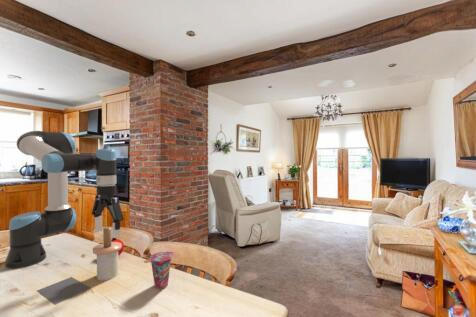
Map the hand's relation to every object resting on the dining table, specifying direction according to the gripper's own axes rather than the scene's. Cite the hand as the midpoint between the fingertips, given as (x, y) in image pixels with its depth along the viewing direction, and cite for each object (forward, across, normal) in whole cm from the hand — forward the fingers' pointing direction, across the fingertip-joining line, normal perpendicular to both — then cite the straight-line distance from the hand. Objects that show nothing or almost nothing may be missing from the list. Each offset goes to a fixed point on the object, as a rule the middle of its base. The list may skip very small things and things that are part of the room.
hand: (107, 234), depth 103 cm
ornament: (+19, -17, +13) cm, 28 cm away
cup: (+18, +25, +8) cm, 32 cm away
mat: (+18, -4, -15) cm, 24 cm away
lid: (+7, 0, 0) cm, 7 cm away
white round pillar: (+19, 0, 0) cm, 19 cm away
